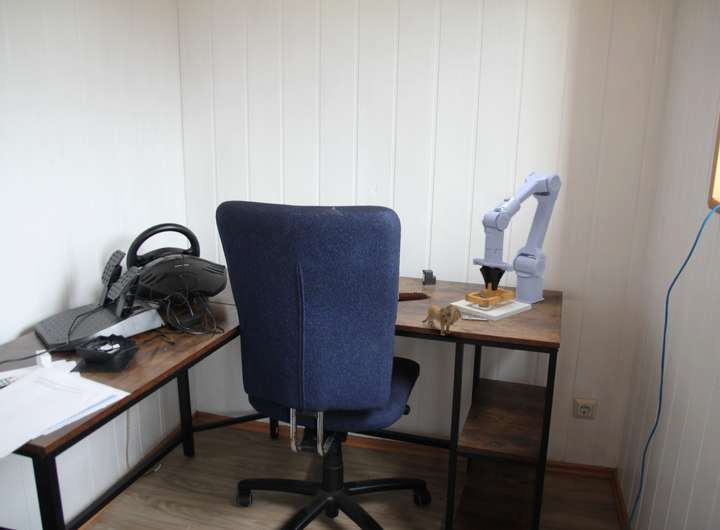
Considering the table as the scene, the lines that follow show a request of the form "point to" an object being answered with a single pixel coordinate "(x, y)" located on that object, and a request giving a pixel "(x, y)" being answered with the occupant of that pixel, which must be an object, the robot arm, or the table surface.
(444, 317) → the lion figurine
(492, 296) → the orange link
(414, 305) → the table surface
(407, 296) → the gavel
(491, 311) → the board
